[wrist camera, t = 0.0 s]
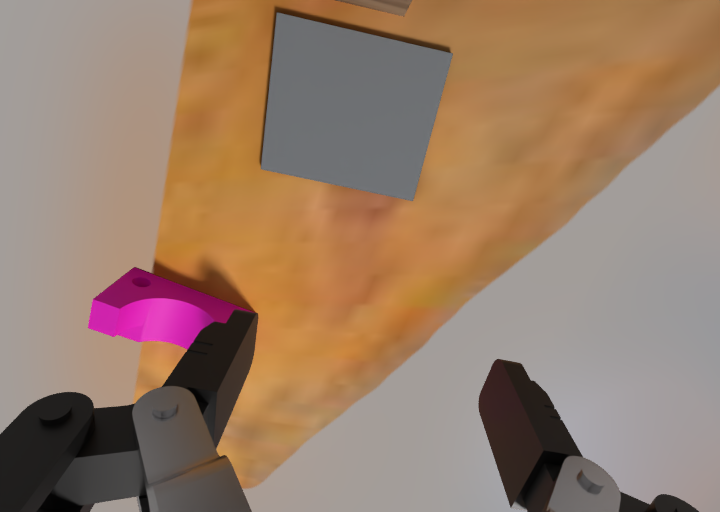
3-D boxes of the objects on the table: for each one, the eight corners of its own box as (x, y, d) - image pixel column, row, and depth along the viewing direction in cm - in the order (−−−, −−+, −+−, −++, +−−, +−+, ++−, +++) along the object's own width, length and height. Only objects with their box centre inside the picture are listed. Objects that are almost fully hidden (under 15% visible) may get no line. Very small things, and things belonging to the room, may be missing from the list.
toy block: (125, 308, 48) (84, 345, 41) (134, 266, 46) (92, 299, 39) (242, 350, 50) (221, 392, 43) (256, 312, 48) (237, 350, 41)
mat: (278, 13, 35) (276, 12, 34) (451, 54, 36) (452, 53, 35) (262, 168, 40) (260, 169, 40) (412, 199, 41) (412, 201, 41)
